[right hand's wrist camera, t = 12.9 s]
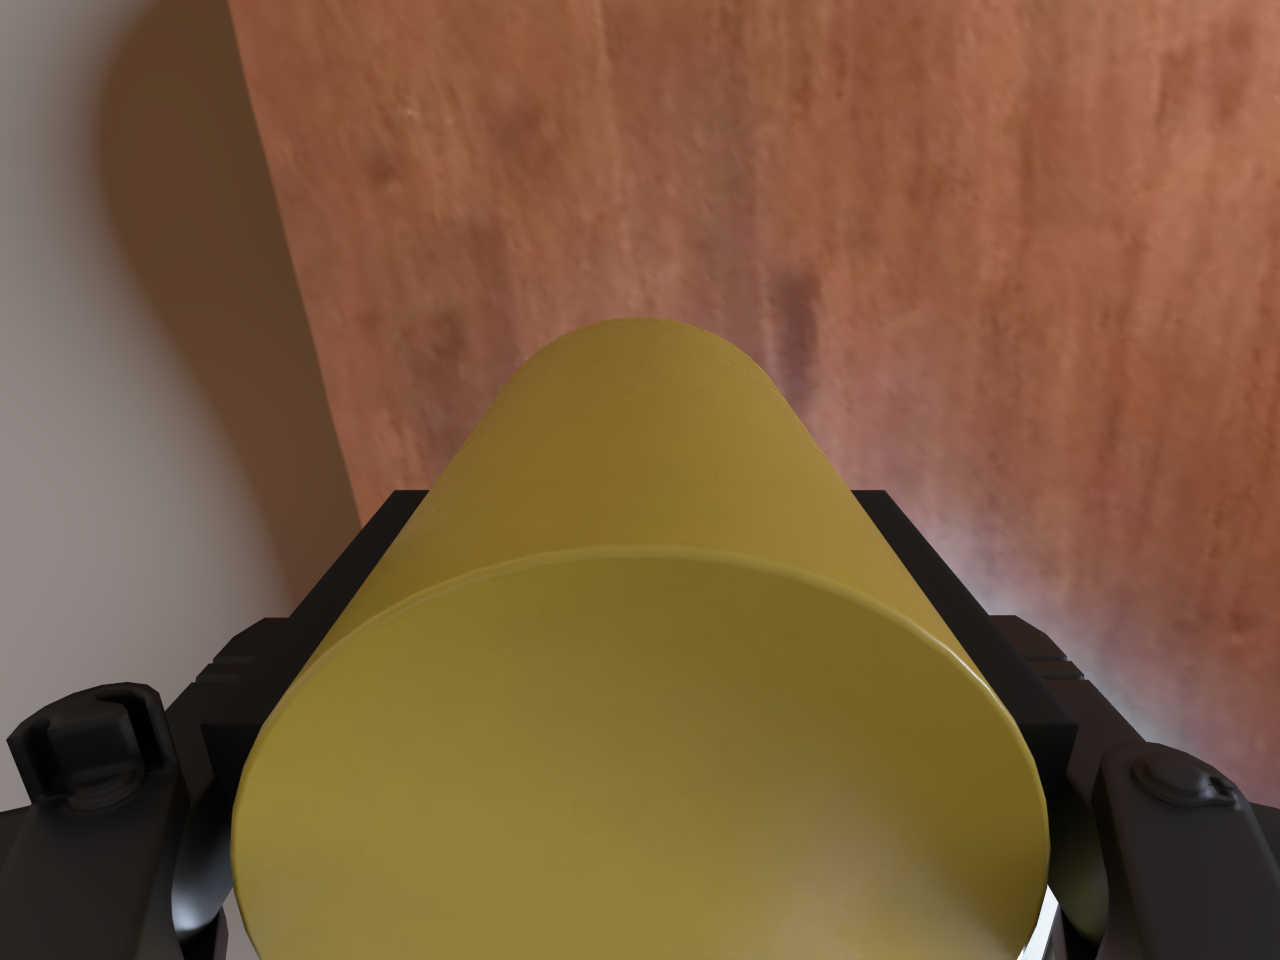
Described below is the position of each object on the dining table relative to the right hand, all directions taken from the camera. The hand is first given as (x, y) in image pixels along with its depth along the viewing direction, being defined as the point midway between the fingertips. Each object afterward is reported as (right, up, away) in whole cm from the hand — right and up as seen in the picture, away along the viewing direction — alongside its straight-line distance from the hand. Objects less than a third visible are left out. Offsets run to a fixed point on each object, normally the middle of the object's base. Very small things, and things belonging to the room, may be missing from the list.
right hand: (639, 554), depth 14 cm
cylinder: (0, +1, +3) cm, 4 cm away
